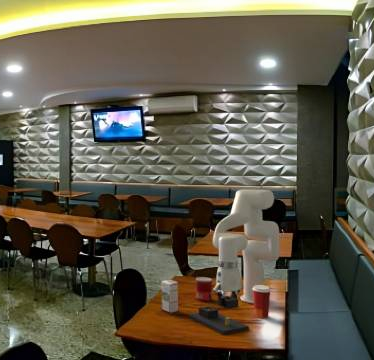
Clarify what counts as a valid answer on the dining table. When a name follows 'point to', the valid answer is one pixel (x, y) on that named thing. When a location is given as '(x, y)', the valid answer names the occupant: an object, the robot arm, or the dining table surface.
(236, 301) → the pad
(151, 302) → the dining table surface
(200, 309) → the pad
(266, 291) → the paper cup
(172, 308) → the syrup box
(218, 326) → the base mat
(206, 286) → the canned food
